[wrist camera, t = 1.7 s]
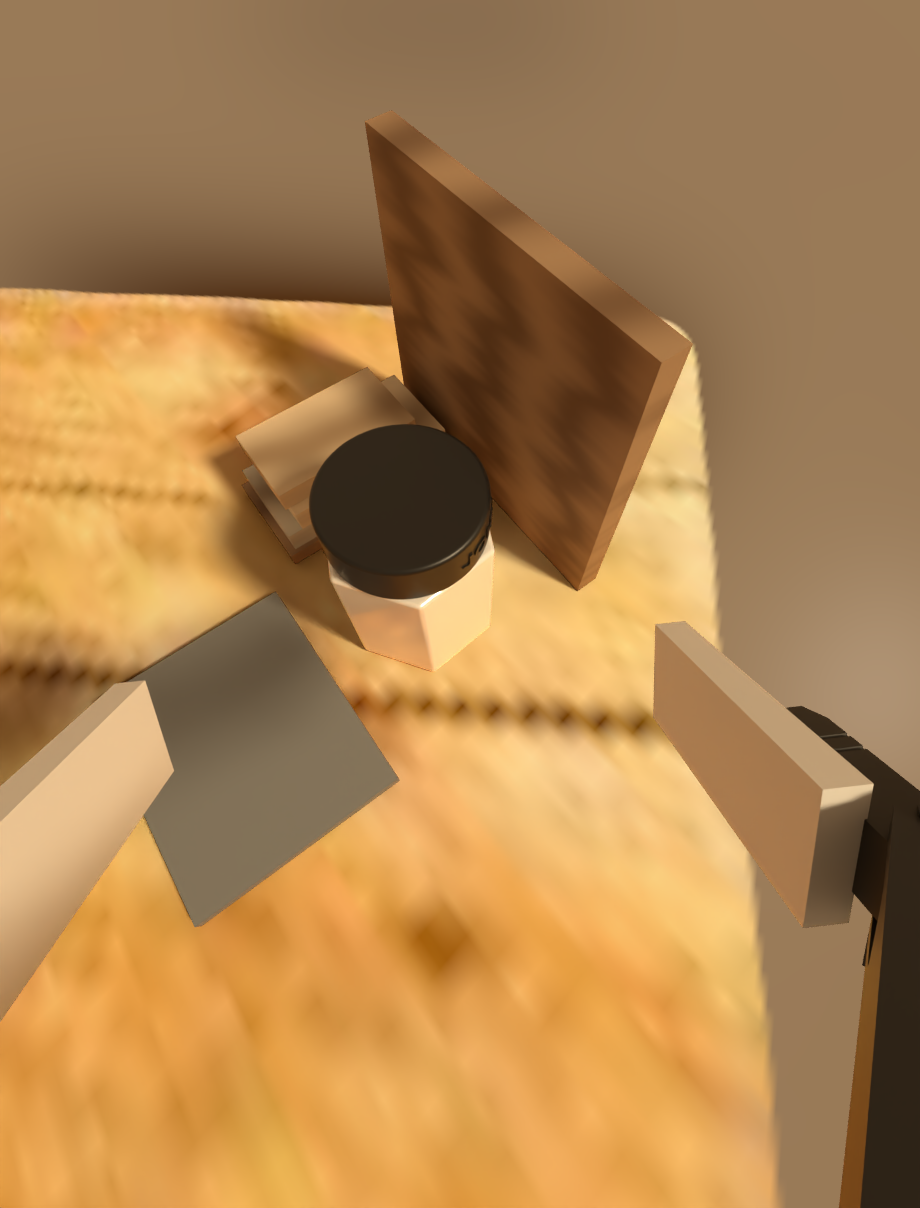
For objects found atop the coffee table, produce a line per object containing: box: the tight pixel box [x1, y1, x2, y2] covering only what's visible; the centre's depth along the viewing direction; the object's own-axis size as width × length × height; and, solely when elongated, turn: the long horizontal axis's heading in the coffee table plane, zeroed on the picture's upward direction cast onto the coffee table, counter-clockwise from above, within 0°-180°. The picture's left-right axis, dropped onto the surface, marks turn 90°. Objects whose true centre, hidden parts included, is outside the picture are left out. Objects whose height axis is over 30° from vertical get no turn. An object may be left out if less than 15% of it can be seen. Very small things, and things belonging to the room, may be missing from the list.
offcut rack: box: [236, 110, 692, 591], centre depth 30 cm, size 20×15×18 cm
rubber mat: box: [93, 592, 400, 927], centre depth 32 cm, size 14×12×1 cm
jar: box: [309, 424, 495, 672], centre depth 30 cm, size 9×8×12 cm
